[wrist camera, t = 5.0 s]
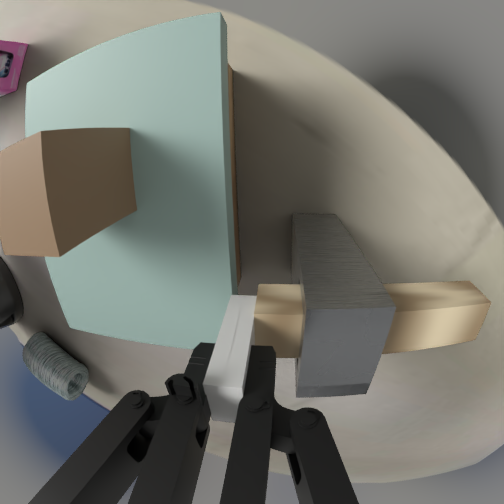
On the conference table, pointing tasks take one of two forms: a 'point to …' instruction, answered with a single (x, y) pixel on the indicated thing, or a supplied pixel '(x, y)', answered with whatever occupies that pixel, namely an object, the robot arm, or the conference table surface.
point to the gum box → (10, 65)
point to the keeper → (336, 309)
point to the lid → (130, 184)
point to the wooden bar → (403, 324)
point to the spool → (55, 367)
